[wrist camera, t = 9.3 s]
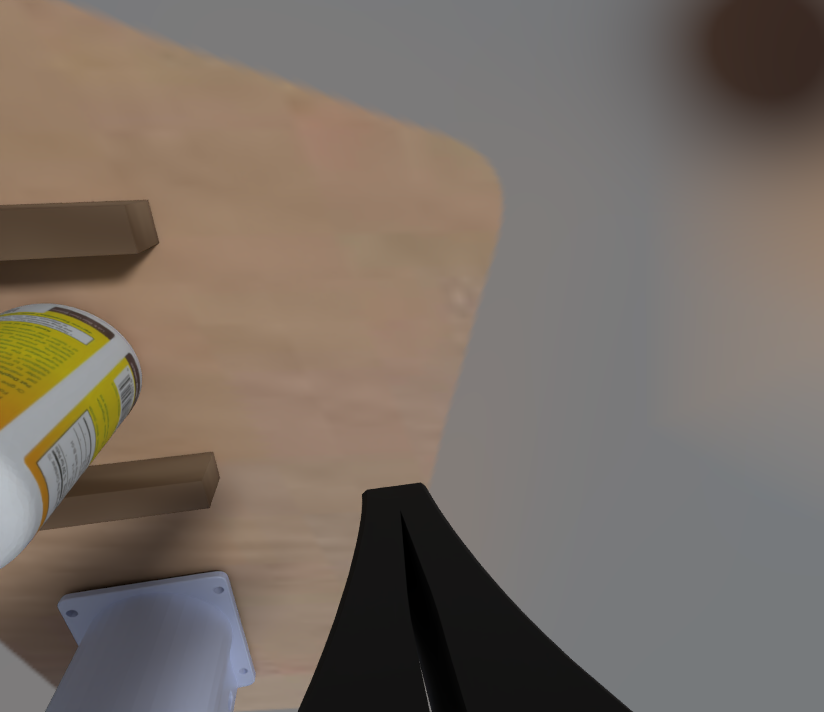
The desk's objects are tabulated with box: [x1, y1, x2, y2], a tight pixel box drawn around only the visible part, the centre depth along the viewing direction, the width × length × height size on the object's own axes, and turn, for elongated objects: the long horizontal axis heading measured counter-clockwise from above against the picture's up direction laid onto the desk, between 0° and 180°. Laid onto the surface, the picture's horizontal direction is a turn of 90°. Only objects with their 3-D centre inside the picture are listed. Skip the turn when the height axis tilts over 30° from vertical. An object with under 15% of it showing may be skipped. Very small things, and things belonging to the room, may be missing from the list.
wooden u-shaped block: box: [0, 200, 220, 531], centre depth 17 cm, size 12×11×2 cm
